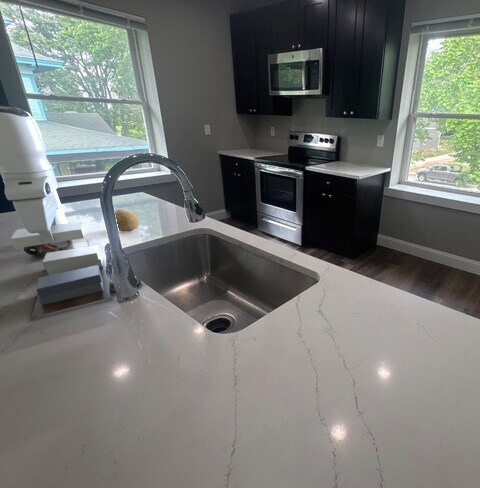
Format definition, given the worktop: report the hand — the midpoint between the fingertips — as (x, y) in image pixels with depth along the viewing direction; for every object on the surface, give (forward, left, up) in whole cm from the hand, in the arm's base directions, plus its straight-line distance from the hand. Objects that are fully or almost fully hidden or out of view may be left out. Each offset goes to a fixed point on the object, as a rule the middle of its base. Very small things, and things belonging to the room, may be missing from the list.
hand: (52, 236), depth 75 cm
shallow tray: (0, +8, -18) cm, 20 cm away
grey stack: (0, 0, -17) cm, 17 cm away
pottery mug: (-8, +32, -19) cm, 38 cm away
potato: (+15, +46, -19) cm, 52 cm away
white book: (0, 0, -1) cm, 0 cm away
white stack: (0, +16, -17) cm, 23 cm away
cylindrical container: (-7, +48, -19) cm, 52 cm away
